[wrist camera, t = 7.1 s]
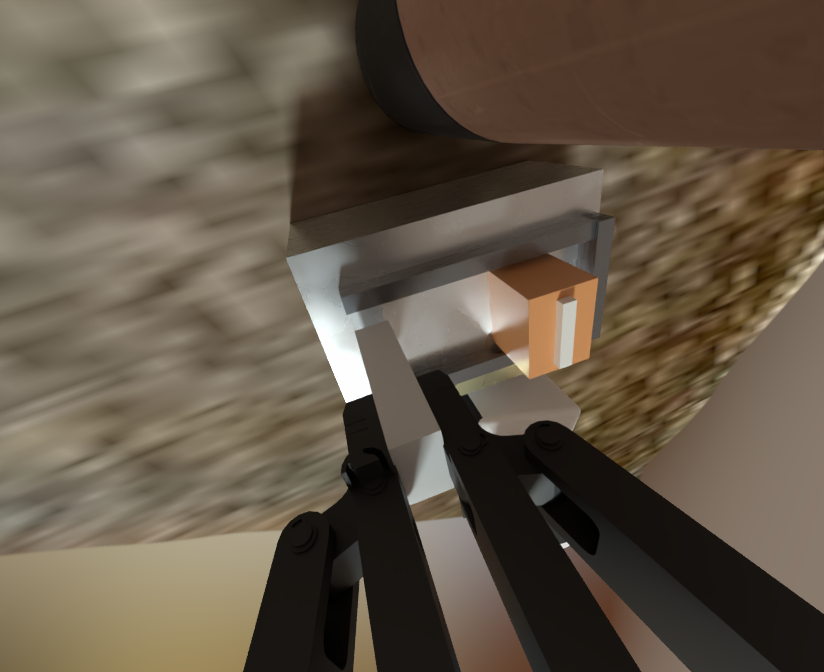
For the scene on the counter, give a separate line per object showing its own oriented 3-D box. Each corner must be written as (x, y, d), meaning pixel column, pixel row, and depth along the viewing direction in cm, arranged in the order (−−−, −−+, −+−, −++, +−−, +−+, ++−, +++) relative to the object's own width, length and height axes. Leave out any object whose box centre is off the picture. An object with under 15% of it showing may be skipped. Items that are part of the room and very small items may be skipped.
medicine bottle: (440, 354, 25) (531, 497, 15) (523, 350, 27) (651, 473, 17) (427, 426, 29) (494, 582, 19) (502, 417, 31) (598, 553, 21)
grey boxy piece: (290, 223, 18) (284, 268, 12) (528, 160, 20) (625, 171, 14) (346, 368, 24) (361, 447, 18) (529, 308, 25) (599, 361, 19)
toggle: (487, 269, 16) (534, 304, 13) (545, 251, 16) (605, 281, 13) (492, 339, 18) (534, 385, 15) (543, 322, 18) (595, 363, 15)
